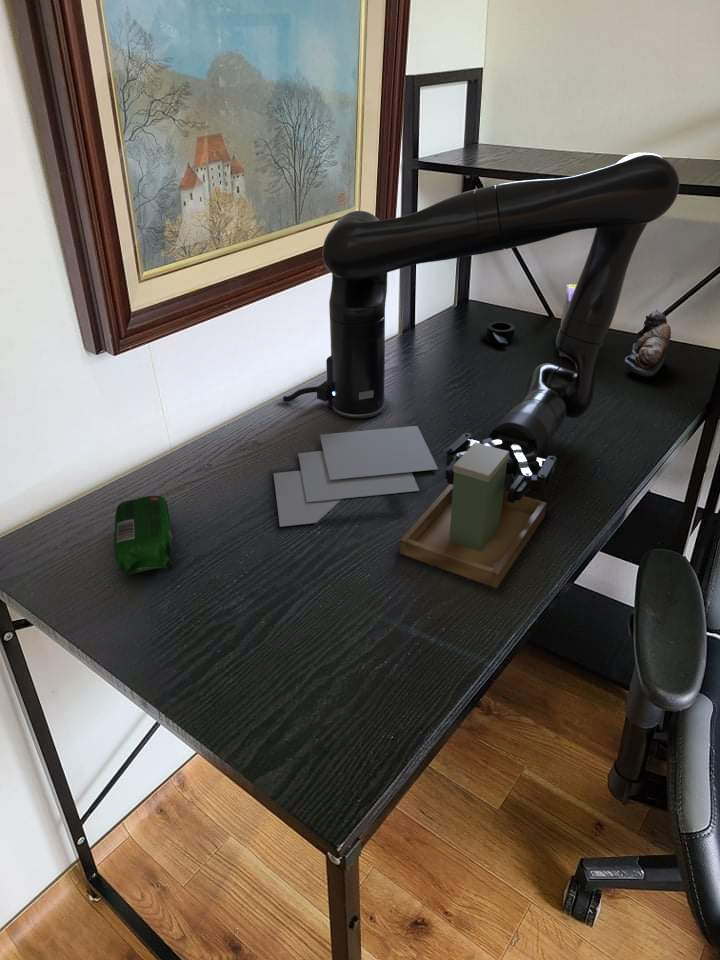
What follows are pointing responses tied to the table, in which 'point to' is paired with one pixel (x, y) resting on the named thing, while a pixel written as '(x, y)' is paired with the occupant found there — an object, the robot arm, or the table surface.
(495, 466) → the green lidded canister
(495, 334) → the duct tape
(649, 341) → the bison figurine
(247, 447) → the table surface
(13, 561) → the table surface
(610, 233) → the robot arm
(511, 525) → the desk tray
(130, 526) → the snack package
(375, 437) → the paper stack
